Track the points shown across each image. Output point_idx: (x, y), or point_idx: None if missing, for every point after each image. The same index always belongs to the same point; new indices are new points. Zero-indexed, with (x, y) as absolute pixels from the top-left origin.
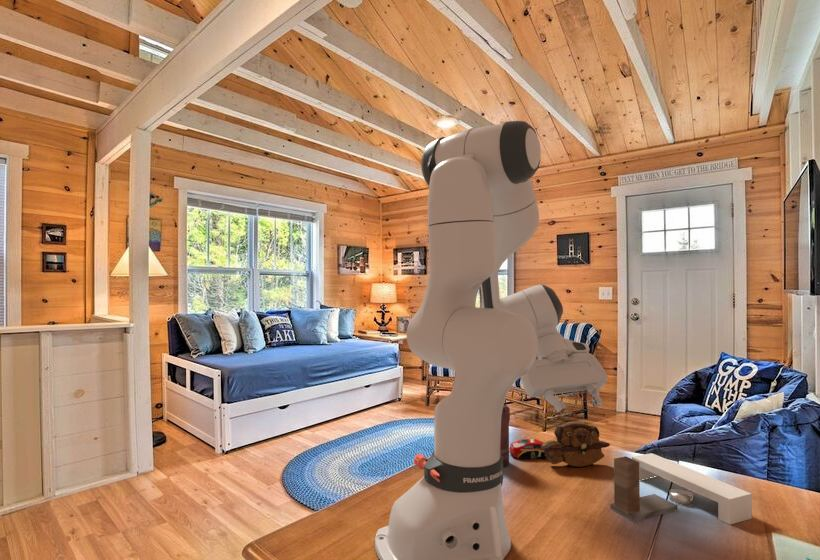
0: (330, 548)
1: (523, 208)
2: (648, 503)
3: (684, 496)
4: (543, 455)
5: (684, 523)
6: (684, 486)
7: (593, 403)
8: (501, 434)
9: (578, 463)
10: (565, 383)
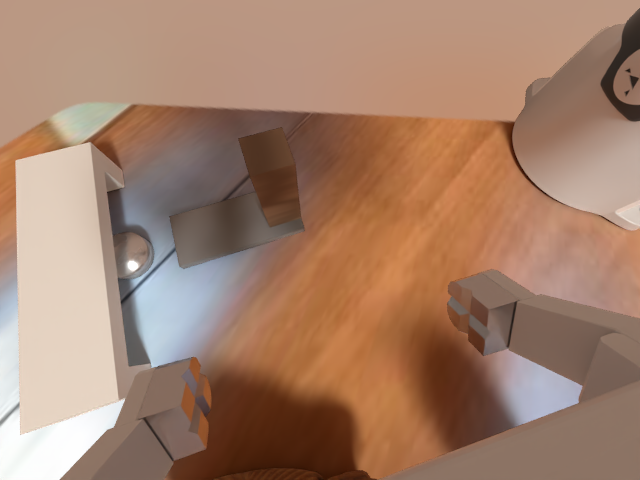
0: None
1: None
2: (223, 226)
3: (127, 239)
4: None
5: (198, 178)
6: (111, 235)
7: (201, 405)
8: None
9: (274, 471)
10: (538, 452)
